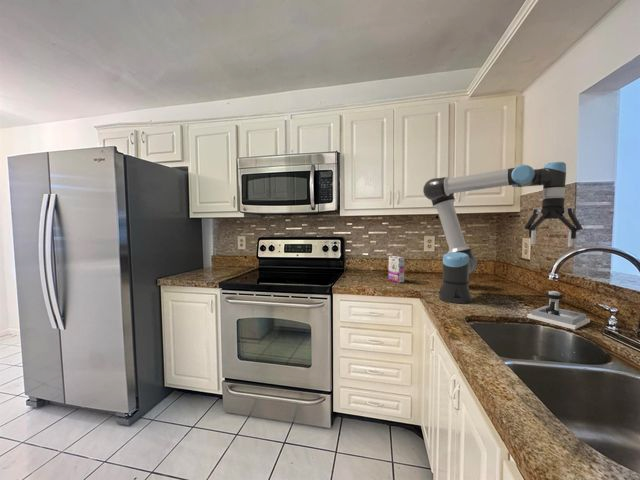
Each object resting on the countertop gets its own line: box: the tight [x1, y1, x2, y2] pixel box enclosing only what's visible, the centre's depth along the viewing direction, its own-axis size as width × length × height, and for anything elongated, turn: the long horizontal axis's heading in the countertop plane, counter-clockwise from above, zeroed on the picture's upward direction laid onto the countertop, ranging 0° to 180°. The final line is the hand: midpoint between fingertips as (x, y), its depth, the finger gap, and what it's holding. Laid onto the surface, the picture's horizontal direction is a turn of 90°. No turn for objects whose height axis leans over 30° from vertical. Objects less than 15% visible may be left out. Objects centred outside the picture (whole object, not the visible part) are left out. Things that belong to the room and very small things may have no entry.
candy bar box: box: [387, 255, 406, 284], centre depth 182 cm, size 11×5×16 cm, turn 23°
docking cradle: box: [526, 305, 591, 330], centre depth 110 cm, size 15×15×3 cm
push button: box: [545, 290, 564, 316], centre depth 111 cm, size 7×5×10 cm
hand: (550, 245), depth 124 cm, fingers open, 13 cm apart
